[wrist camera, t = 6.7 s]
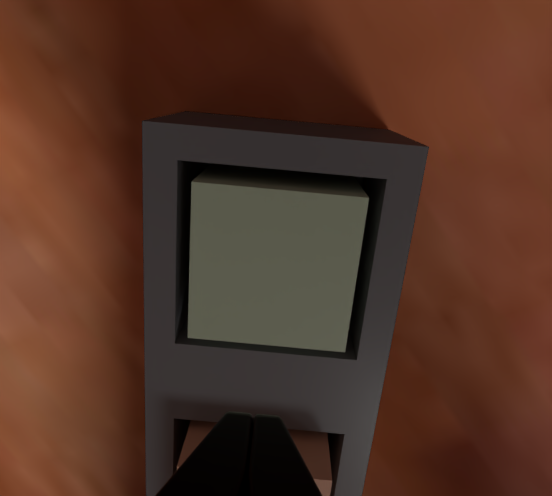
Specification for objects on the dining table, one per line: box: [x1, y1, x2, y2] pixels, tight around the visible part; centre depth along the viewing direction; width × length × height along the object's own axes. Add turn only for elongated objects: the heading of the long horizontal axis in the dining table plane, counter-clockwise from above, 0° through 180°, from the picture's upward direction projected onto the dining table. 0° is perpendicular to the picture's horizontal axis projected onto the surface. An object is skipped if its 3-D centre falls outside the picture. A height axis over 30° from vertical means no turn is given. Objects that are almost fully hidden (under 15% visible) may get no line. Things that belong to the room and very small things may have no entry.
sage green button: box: [188, 163, 369, 352], centre depth 16 cm, size 5×5×4 cm
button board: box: [142, 111, 429, 496], centre depth 20 cm, size 8×26×6 cm, turn 175°
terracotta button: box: [177, 420, 332, 496], centre depth 18 cm, size 5×5×4 cm
